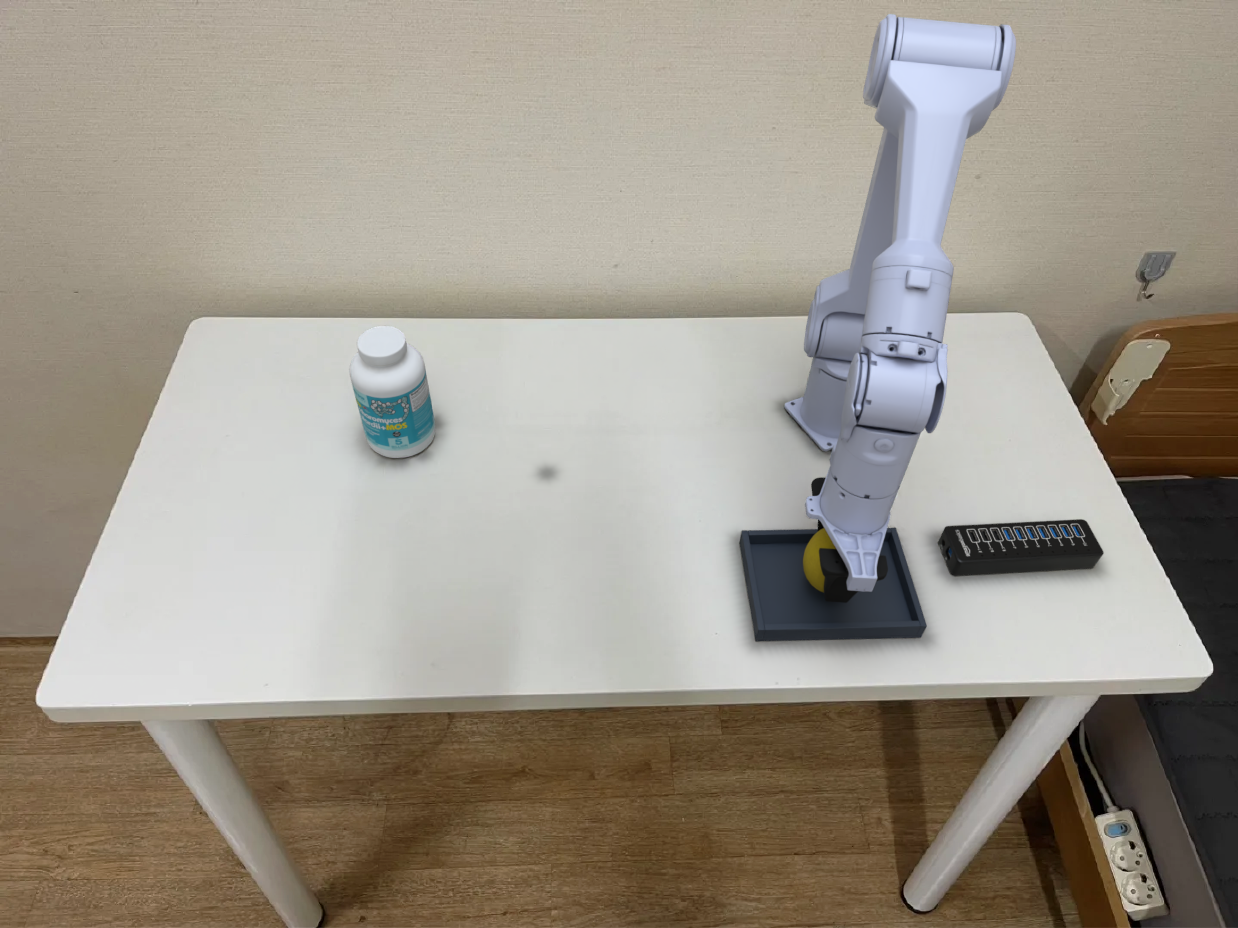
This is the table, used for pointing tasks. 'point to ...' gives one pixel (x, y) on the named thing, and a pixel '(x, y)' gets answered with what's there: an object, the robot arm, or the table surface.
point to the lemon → (816, 558)
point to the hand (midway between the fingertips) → (832, 570)
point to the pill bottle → (392, 393)
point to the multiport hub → (1019, 547)
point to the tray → (801, 610)
